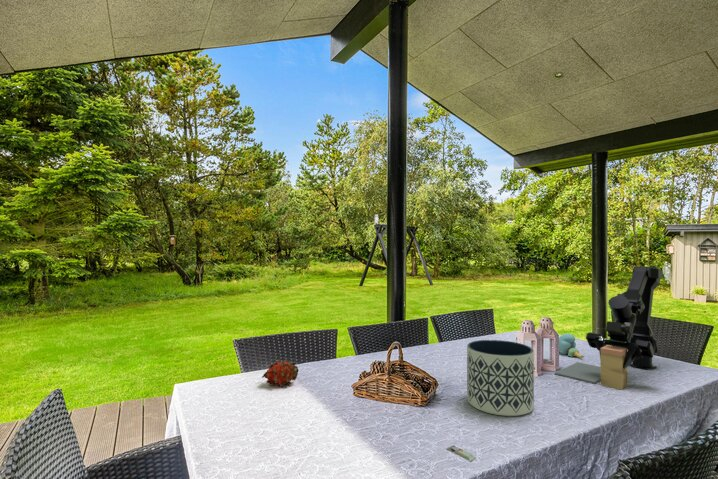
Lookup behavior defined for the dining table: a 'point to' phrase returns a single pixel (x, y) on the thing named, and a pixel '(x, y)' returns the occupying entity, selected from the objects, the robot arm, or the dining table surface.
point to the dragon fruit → (281, 373)
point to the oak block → (613, 367)
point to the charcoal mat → (582, 372)
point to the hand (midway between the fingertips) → (612, 365)
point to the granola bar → (461, 452)
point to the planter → (500, 377)
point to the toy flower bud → (568, 346)
